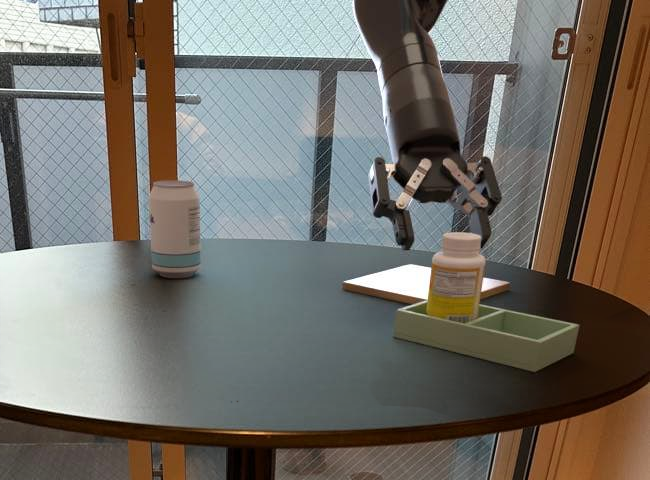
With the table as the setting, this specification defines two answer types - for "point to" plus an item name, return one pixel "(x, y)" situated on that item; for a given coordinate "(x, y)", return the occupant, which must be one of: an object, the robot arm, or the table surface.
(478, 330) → the divided tray
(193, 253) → the beverage can
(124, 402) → the table surface
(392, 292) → the mat
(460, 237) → the supplement bottle
